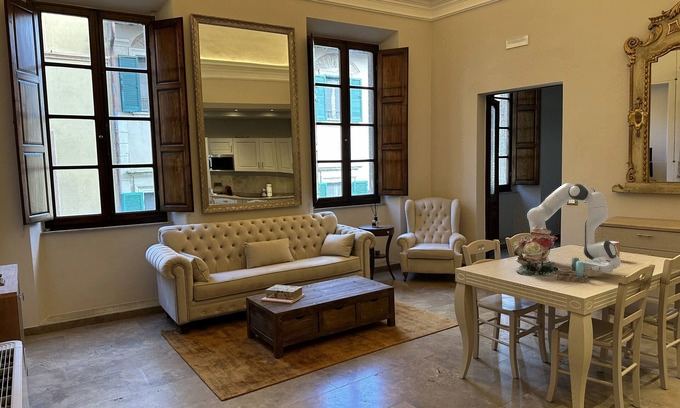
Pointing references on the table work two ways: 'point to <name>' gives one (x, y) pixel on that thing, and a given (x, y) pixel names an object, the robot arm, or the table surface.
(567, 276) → the socket board
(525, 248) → the rose bouquet
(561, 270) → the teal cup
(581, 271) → the dowel
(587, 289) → the table surface
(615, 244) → the small box
